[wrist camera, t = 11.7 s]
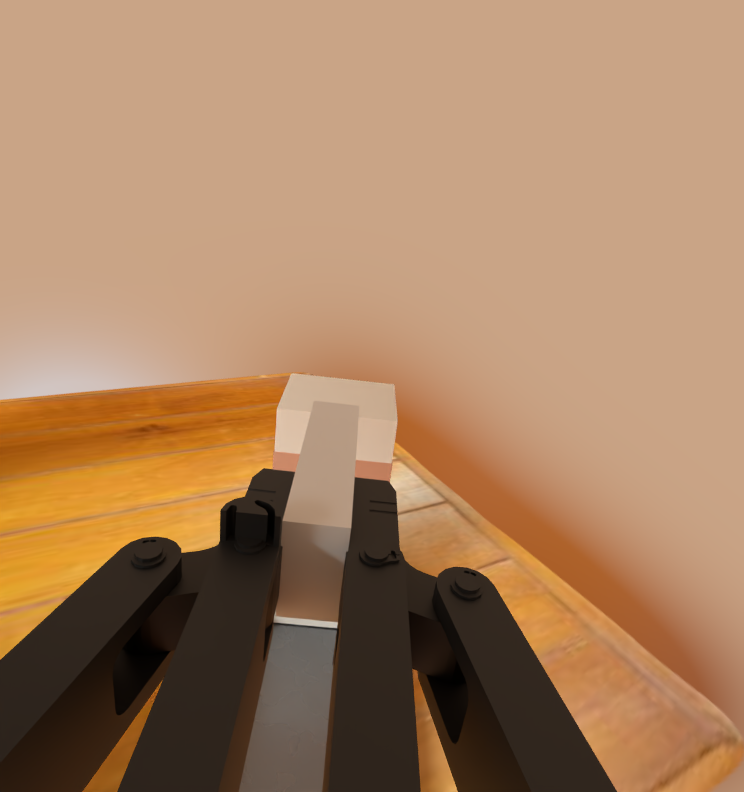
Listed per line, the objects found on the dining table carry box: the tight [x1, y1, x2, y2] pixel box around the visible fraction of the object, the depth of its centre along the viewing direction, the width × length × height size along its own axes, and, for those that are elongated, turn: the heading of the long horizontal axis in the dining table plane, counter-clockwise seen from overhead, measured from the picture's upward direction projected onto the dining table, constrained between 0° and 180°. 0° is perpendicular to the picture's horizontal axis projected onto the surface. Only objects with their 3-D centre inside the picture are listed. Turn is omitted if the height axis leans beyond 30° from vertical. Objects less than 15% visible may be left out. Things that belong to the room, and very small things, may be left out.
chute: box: [239, 623, 337, 792], centre depth 36 cm, size 24×10×2 cm, turn 0°
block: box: [273, 373, 398, 628], centre depth 37 cm, size 6×7×16 cm
